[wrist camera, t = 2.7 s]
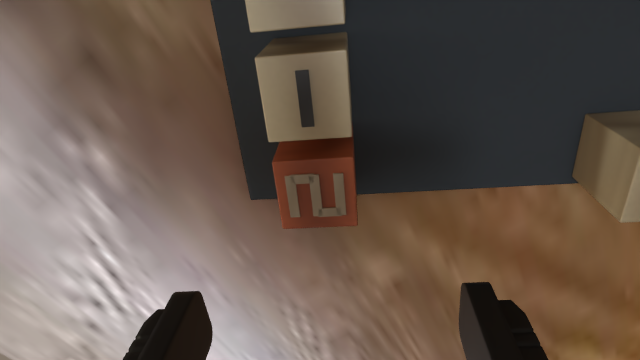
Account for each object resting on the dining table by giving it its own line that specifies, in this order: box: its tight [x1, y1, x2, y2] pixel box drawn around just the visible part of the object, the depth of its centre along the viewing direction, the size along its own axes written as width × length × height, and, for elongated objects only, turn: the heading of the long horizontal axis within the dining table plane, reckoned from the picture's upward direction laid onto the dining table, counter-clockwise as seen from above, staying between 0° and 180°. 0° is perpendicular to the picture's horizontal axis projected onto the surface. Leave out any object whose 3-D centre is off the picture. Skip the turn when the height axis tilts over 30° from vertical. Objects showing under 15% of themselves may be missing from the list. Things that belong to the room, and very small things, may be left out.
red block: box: [272, 123, 358, 229], centre depth 23 cm, size 4×4×5 cm
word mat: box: [210, 0, 640, 200], centre depth 22 cm, size 28×16×1 cm, turn 95°
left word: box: [245, 0, 352, 142], centre depth 19 cm, size 4×9×5 cm, turn 6°
